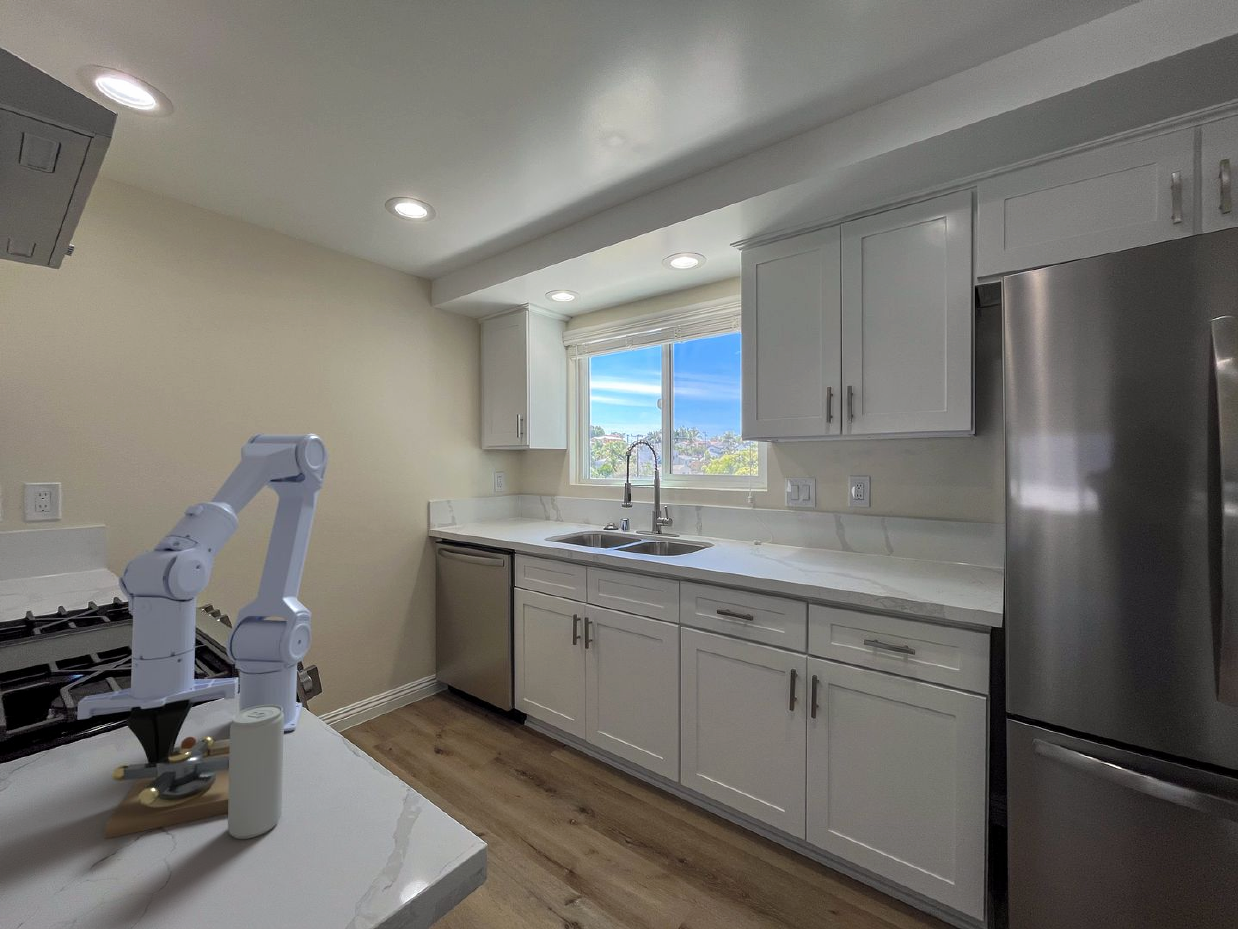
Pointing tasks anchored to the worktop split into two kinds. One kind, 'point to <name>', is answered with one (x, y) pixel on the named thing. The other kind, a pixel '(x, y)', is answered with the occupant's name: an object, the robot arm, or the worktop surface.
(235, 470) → the robot arm
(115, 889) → the worktop surface
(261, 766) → the beverage can
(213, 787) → the valve wheel board
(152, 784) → the capstan
